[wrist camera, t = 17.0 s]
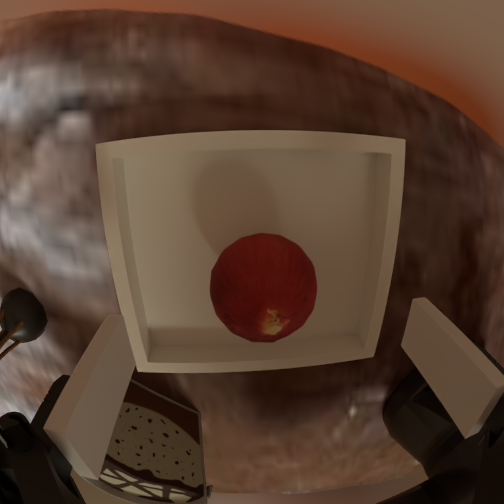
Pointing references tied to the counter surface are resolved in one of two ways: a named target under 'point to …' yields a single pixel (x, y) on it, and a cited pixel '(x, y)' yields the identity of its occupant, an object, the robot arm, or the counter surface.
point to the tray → (244, 224)
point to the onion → (263, 287)
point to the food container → (154, 452)
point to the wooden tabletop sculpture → (20, 318)
